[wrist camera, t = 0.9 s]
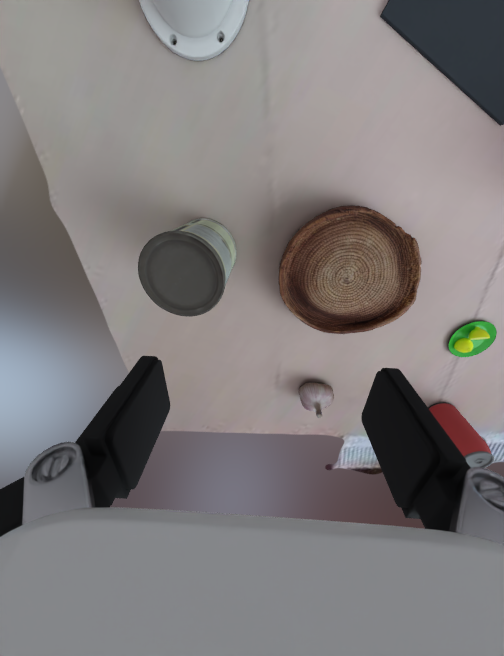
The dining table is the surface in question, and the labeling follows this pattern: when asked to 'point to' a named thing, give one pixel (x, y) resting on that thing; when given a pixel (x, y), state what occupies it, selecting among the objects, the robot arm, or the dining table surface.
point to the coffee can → (188, 267)
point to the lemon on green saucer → (472, 339)
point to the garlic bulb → (316, 397)
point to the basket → (350, 271)
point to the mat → (458, 43)
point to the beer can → (463, 435)
